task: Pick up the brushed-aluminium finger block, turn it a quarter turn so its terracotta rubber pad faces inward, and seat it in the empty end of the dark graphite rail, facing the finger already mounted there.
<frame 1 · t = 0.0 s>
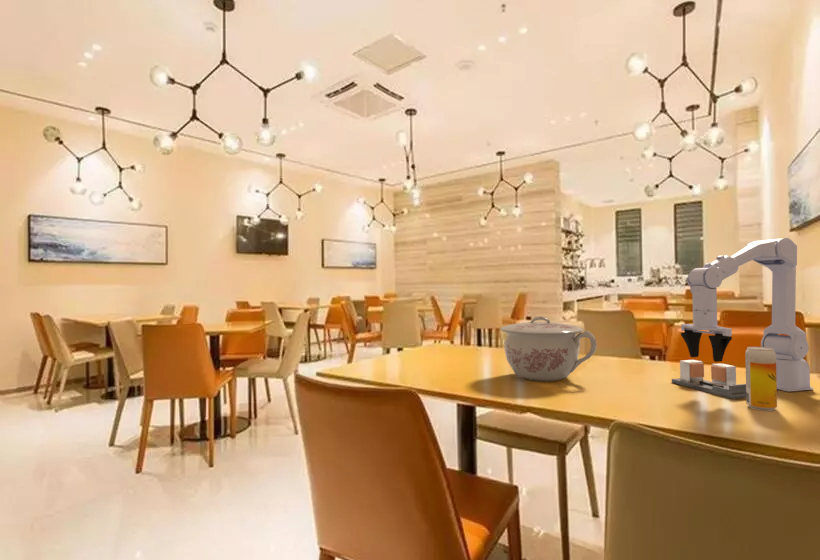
hand: (705, 359, 126), 10 cm above the table, tool pointing down, fingers open, 7 cm apart
chamber pot: (542, 378, 153), on the table
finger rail: (711, 389, 133), on the table
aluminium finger: (724, 384, 139), on the table
beer can: (761, 408, 113), on the table
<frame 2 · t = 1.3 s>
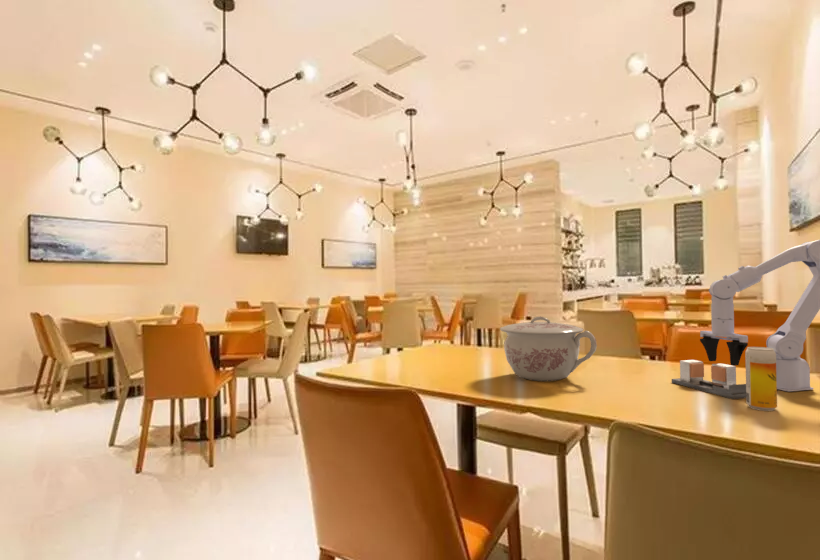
hand: (723, 363, 139), 7 cm above the table, tool pointing down, fingers open, 7 cm apart
nothing on the table moved.
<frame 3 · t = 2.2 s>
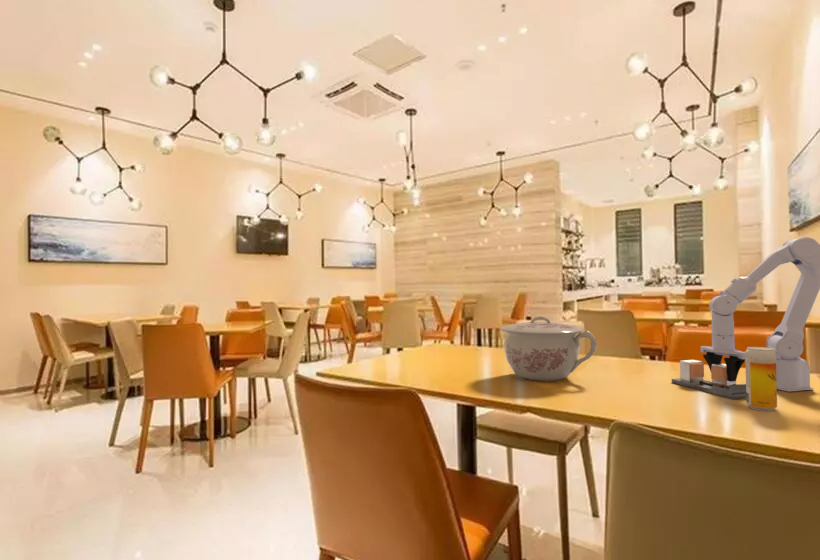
hand: (723, 379, 139), 2 cm above the table, tool pointing down, fingers closed on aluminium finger, 5 cm apart
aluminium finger: (724, 384, 139), on the table, touching gripper
everything else where it was.
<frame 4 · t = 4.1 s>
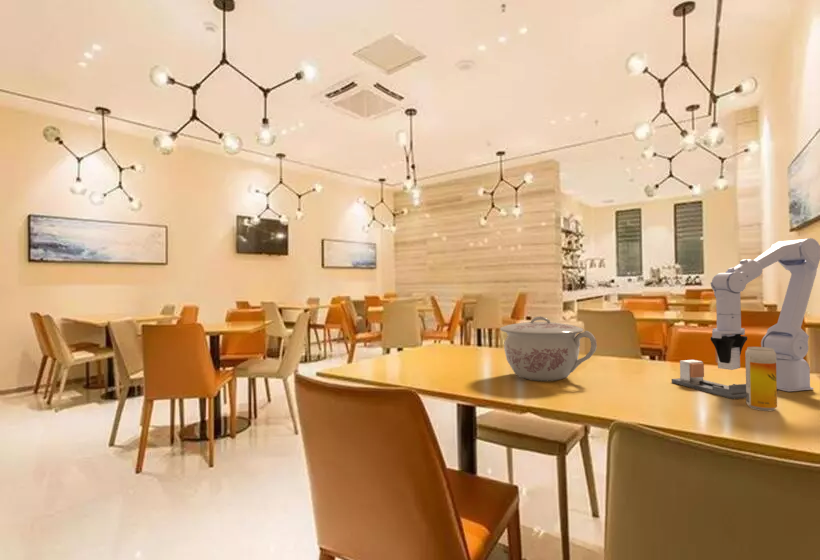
hand: (729, 361, 129), 9 cm above the table, tool pointing down, fingers closed on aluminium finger, 5 cm apart
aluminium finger: (729, 368, 129), point 7 cm above the table, touching gripper
everything else where it was.
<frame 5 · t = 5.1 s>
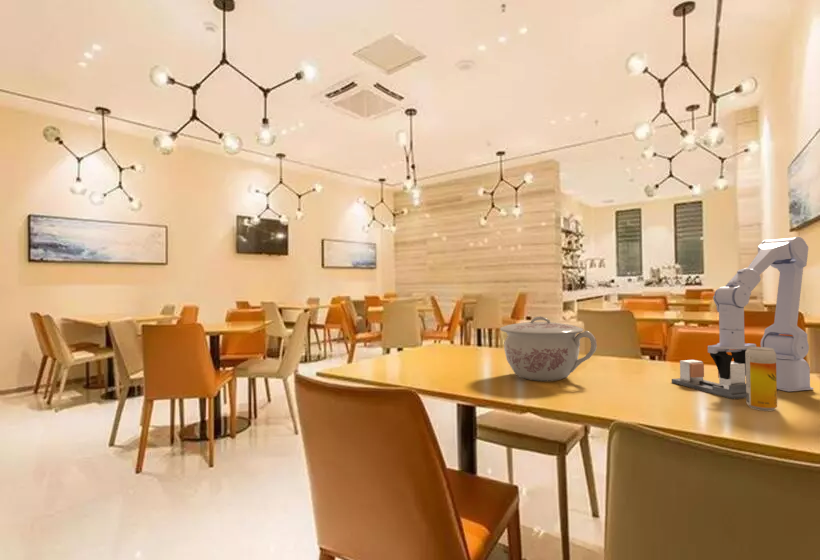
hand: (732, 377, 126), 5 cm above the table, tool pointing down, fingers closed on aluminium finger, 5 cm apart
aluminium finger: (732, 384, 126), point 3 cm above the table, touching gripper
everything else where it was.
when the fingers open (4 cm above the table, at t = 5.9 s): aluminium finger stays where it is, resting on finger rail.
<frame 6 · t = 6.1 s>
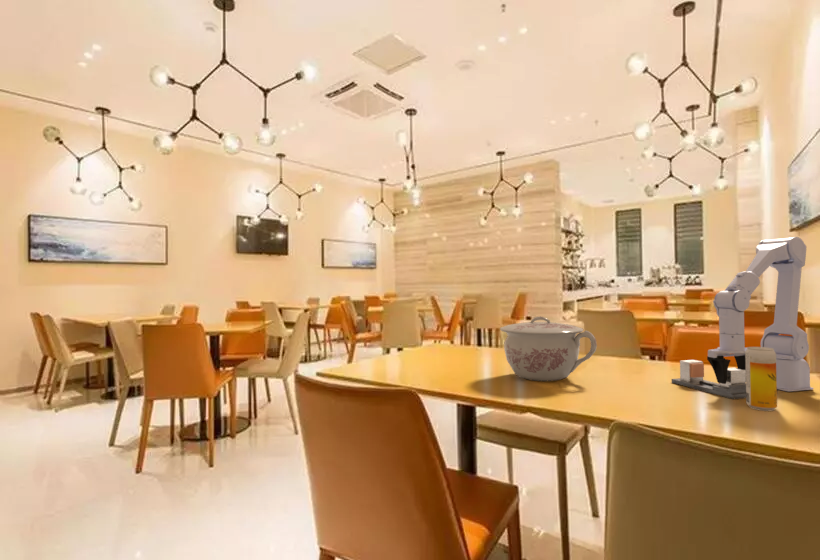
hand: (732, 382, 126), 4 cm above the table, tool pointing down, fingers open, 7 cm apart
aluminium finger: (732, 390, 126), point 1 cm above the table, touching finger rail
everything else where it was.
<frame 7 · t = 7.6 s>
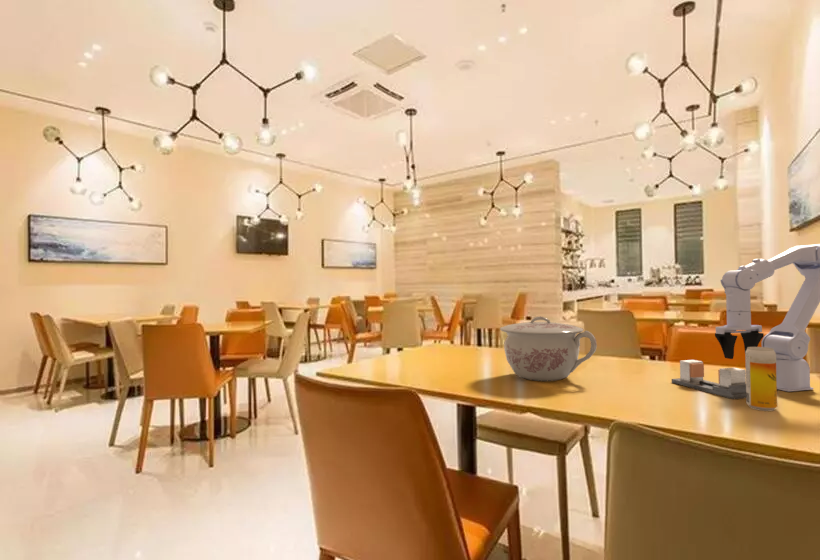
hand: (739, 357, 131), 9 cm above the table, tool pointing down, fingers open, 7 cm apart
nothing on the table moved.
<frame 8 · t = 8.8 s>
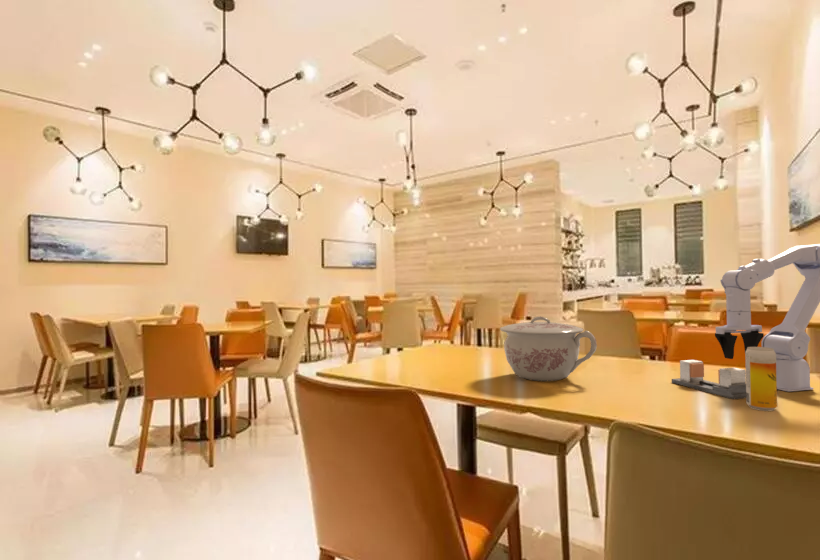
hand: (739, 357, 131), 9 cm above the table, tool pointing down, fingers open, 7 cm apart
nothing on the table moved.
at the end: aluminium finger 0.1 cm from the target spot on the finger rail, point 1.2 cm above the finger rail's base; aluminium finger tilted 0°; the gripper is holding nothing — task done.
